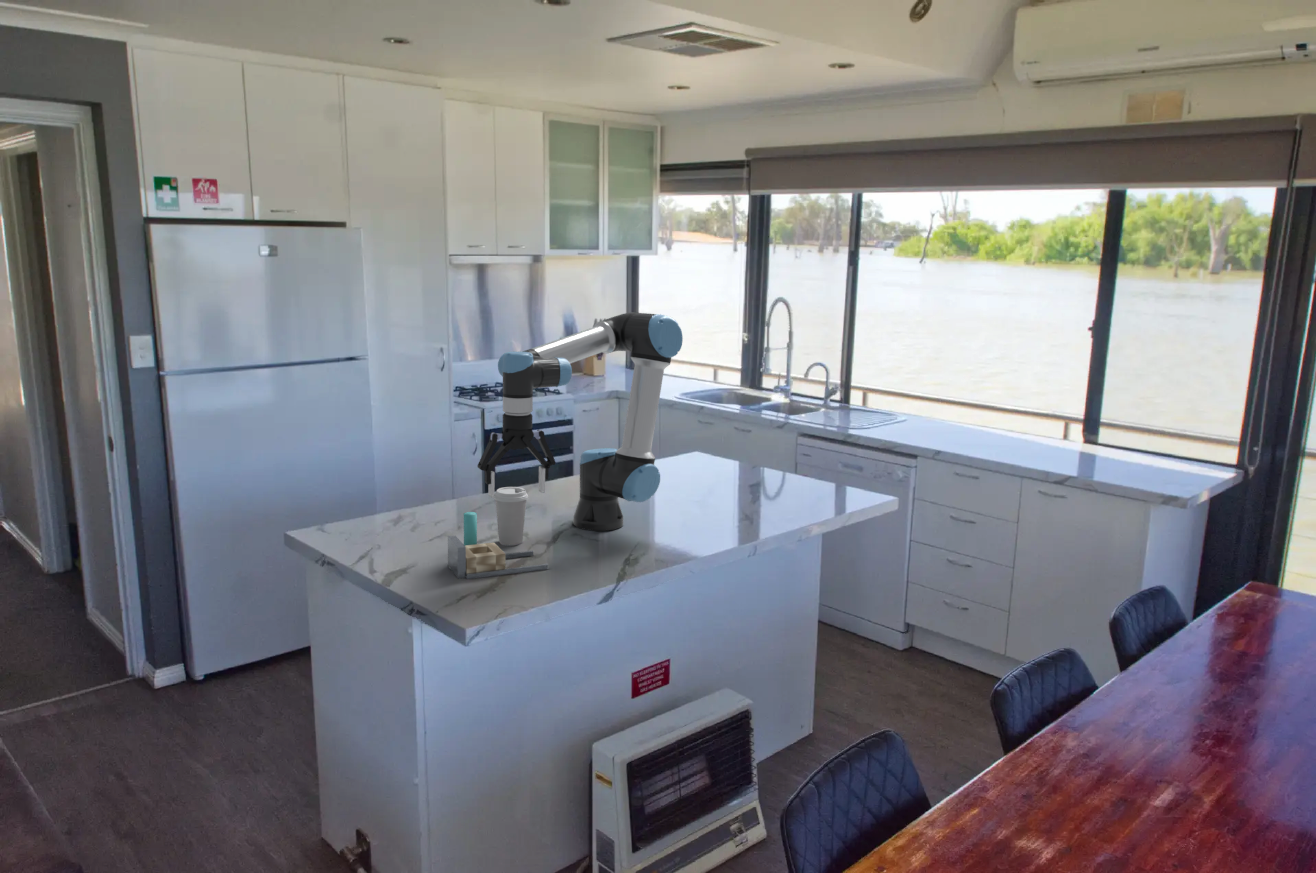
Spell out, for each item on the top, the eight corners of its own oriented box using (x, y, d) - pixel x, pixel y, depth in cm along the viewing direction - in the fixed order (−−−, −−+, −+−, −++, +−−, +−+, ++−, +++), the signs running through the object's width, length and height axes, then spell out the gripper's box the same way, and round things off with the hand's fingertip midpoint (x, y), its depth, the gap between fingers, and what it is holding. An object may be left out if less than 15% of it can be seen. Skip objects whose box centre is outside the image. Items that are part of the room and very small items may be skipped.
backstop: (532, 554, 251) (532, 526, 249) (547, 569, 240) (548, 539, 238) (446, 564, 240) (446, 535, 239) (459, 580, 230) (458, 549, 228)
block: (494, 560, 245) (494, 542, 244) (505, 572, 236) (505, 553, 235) (456, 564, 240) (456, 546, 239) (466, 577, 232) (466, 558, 231)
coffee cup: (521, 548, 256) (521, 496, 253) (488, 545, 257) (488, 493, 254) (532, 538, 265) (533, 487, 262) (500, 535, 267) (501, 485, 264)
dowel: (474, 554, 249) (474, 511, 247) (478, 558, 246) (478, 514, 244) (462, 556, 248) (462, 512, 245) (465, 559, 245) (465, 516, 242)
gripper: (558, 408, 245) (556, 486, 249) (465, 412, 233) (465, 494, 237) (568, 413, 238) (567, 493, 242) (473, 417, 227) (473, 501, 231)
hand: (516, 494), depth 240 cm, fingers open, 13 cm apart
